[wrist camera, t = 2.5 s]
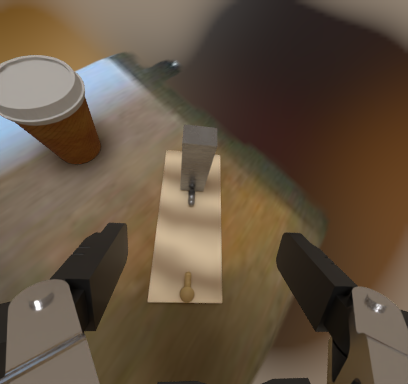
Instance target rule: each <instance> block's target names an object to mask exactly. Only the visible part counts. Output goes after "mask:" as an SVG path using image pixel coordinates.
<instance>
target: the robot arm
mask: <svg viewBox="0 0 408 384" xmlns="http://www.w3.org/2000/svg"><path fill="white" fill-rule="evenodd" d="M127 256H128V239H127V225H126V224H125V223H108V224H107V226H106V227H105V228H104V230H103V231H102V232H101V233H94V234H92V235H91V236H89V237H87V238H86V239H85V240H84V241H83V242H82V243H81V244H80V245H79V248H77V249H76V250H75V251H74V252H73V255H71V256H70V257H69V258H68V259H67V260H66V261H65V263H64V264H63V265H62V266H61V267H60V268H59V269H58V270H57V272H56V273H55V274H54V275H53V276H52V277H51V278H50V280H46V281H42V282H39V283H36V284H34V285H32V286H30V287H28V288H26V289H24V290H23V291H22V292H20V293H19V294H18V295H17V296H16V297H15V298H14V299H13V300H12V301H11V302H7V303H2V304H0V384H100V383H99V380H98V377H97V373H96V370H95V366H94V363H93V360H92V356H91V353H90V349H89V346H88V343H87V339H86V336H85V334H84V331H96V329H97V327H98V325H99V322H100V320H101V318H102V316H103V313H104V311H105V309H106V307H107V304H108V302H109V300H110V298H111V295H112V293H113V291H114V289H115V286H116V284H117V282H118V280H119V277H120V275H121V273H122V271H123V268H124V266H125V264H126V261H127ZM276 263H277V267H278V270H279V271H280V273H281V275H282V276H283V278H284V280H285V281H286V283H287V285H288V286H289V288H290V290H291V291H292V293H293V295H294V296H295V298H296V300H297V301H298V303H299V305H300V306H301V308H302V310H303V311H304V313H305V315H306V316H307V318H308V320H309V321H310V323H311V325H312V326H313V328H314V330H315V331H316V332H329V333H330V335H331V337H330V339H329V342H328V370H327V384H408V312H406V311H403V310H400V309H399V308H398V307H397V306H396V305H395V304H394V303H393V302H392V301H390V300H389V299H388V298H387V297H385V296H383V295H382V294H380V293H378V292H376V291H374V290H372V289H369V288H365V287H358V286H357V285H356V284H355V283H354V282H353V281H352V280H351V279H350V278H349V277H348V276H347V275H346V274H345V273H344V272H343V271H342V270H341V269H340V268H339V267H338V266H336V265H335V264H334V262H333V261H331V260H330V259H329V258H328V257H327V255H325V254H324V253H323V252H322V251H321V250H320V249H319V248H317V247H316V246H314V245H312V244H311V243H310V242H309V241H308V240H307V239H306V238H305V237H304V236H303V235H302V234H300V233H284V234H283V236H282V239H281V243H280V247H279V250H278V254H277V258H276ZM157 384H205V383H202V382H198V381H179V382H158V383H157ZM262 384H310V382H309V379H308V378H293V379H292V378H289V379H272V380H269V381H267V382H265V383H262Z"/></svg>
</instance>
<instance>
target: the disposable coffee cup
mask: <svg viewBox="0 0 408 384" xmlns="http://www.w3.org/2000/svg"><path fill="white" fill-rule="evenodd" d="M0 115H1V116H2V117H4V118H6V119H8V120H11V121H13V122H15V123H16V124H18V125H19V126H20V127H22V128H24V130H25V131H27V132H28V133H29V134H31V135H32V136H33V137H35V138H36V139H37V140H39V141H40V142H41V143H42V144H43V145H45V146H46V147H47V148H49V149H50V150H51V151H52V152H54V153H55V154H56V155H58V156H59V157H60V158H62V159H63V160H64V161H66V162H68V163H71V164H82V163H86V162H88V161H90V160H92V159H94V158H95V157H96V156H97V155H98V153H99V151H100V148H101V144H100V141H99V138H98V135H97V132H96V129H95V126H94V123H93V120H92V117H91V114H90V111H89V108H88V105H87V102H86V99H85V88H84V83H83V81H82V79H81V77H80V76H79V75H78V74H77V73H76V72H74V71H73V70H72V68H71V67H70V66H69V65H68V64H66V63H65V62H63V61H61V60H59V59H57V58H53V57H48V56H39V55H38V56H37V55H30V56H22V57H18V58H14V59H11V60H9V61H6V62H4V63H1V64H0Z"/></svg>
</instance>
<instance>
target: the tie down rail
mask: <svg viewBox="0 0 408 384" xmlns="http://www.w3.org/2000/svg"><path fill="white" fill-rule="evenodd" d="M181 163H182V151H172V150H167V151H166V159H165V167H164V175H163V183H162V191H161V199H160V207H159V215H158V223H157V231H156V239H155V247H154V255H153V263H152V271H151V279H150V287H149V295H148V302H178V303H222V255H221V188H220V155H214V158H213V162H212V165H211V168H210V171H209V175H208V178H207V181H206V184H205V187H204V191H195V204H194V205H193V206H190V205H189V204H188V192H189V190H180V183H181Z"/></svg>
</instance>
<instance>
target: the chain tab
mask: <svg viewBox="0 0 408 384" xmlns="http://www.w3.org/2000/svg"><path fill="white" fill-rule="evenodd" d="M216 149H217V128H211V127H202V126H193V125H184V131H183V143H182V163H181V183H180V190H189V192H188V204H189V205H190V206H193V205H194V204H195V191H204V187H205V184H206V181H207V178H208V175H209V171H210V168H211V165H212V162H213V158H214V155H215V152H216Z"/></svg>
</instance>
